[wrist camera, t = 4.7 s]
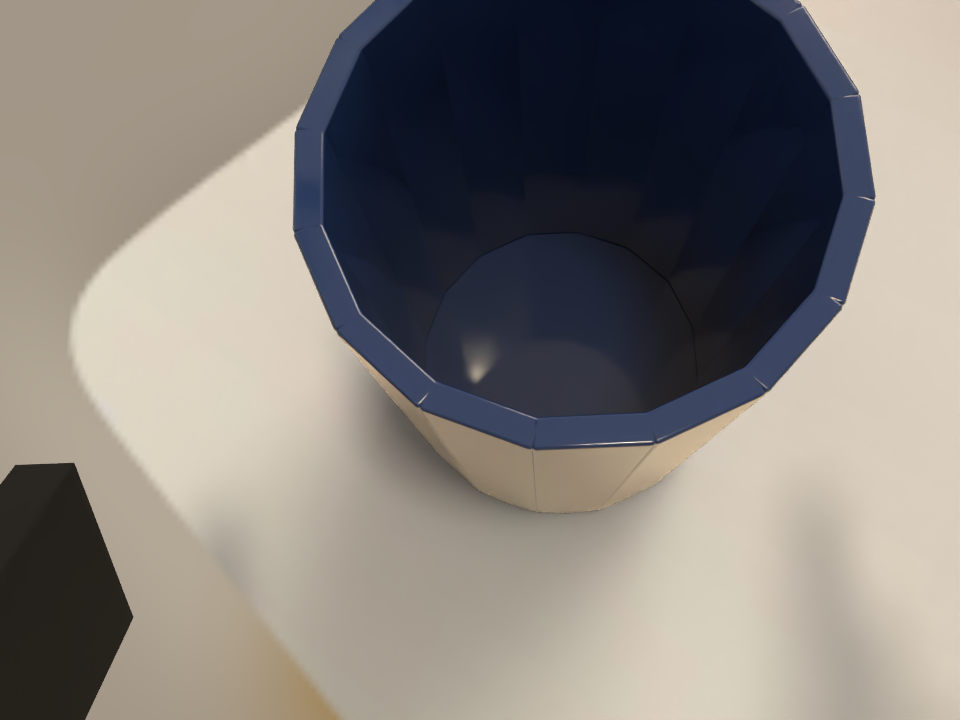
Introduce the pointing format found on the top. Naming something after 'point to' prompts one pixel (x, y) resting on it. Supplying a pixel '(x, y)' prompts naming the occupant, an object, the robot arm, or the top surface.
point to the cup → (580, 224)
